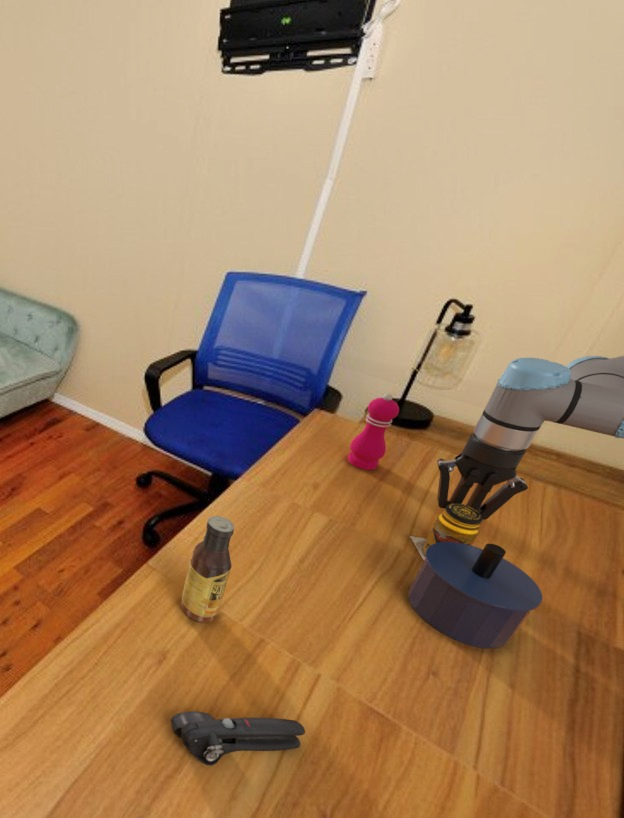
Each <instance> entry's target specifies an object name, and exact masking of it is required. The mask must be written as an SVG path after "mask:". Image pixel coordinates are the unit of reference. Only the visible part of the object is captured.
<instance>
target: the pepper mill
mask: <svg viewBox="0 0 624 818" xmlns="http://www.w3.org/2000/svg"><path fill="white" fill-rule="evenodd" d="M367 411H368V413H367V414H366V418H365V421H366V425H365V426H364V428H363V430H362V431H361V432H360V433H359V434H357V435H356V436H355V437H354V438H353V439H352V441H351V442H350V444H349V449H350V452H349V453H348V456H347V461H348V462H349V464H351V465H352V466H354V467H356V468H357V469H361V470H367V471H373V470H375V469H377V467H378V465H379V463H380V459H383V458H384V456H385V455H386V451H387V445H386V440H385V433H386V430H387V428H389V427H391V426H392V423H393V419H395V418H396V417H398V415H399V413H400V407H399V405H398V403H397V402H396V401H395V400H393V395H392V394H391V393H385V394H384V395H383V397H376V398H374V399H372V400H371V401H370V402H369V403H368V405H367Z"/></svg>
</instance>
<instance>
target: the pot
mask: <svg viewBox="0 0 624 818" xmlns="http://www.w3.org/2000/svg"><path fill="white" fill-rule="evenodd" d="M407 594H408V601H409V603H410V605H411V607H412V609H413V610H414V612H415V613H416V614H417V615H418V616H419V617H420V618H421V619H422V620H423V621H424V622H426V623H427V624H428V625H429V626H431V627H432V628H433V629H435V630H436V631H438V632H439V633H441V634H443V635H444V636H446V637H448V638H450V639H451V640H455V641H457V642H459V643H462V644H464V645H468V646H470V647H475V648H478V649H479V648H480V649H499V648H502V647H504V646H506V645H507V643H508V642H510V640H511V639H513V636H514V635H515V633H516V632H517V631H518V630H519V628H520V627H521V625H522V624H523V622H524V621H525V619H526V618H527V616H528V615H529V614H530V613H531V611H532V610H530V611H522V612H518V611H508V610H503V609H498V608H495V607H491V606H488V605H486V604H483V603H480V602H478V601H475V600H473V599H471V598H469V597H467V596H465V595H463V594H461V593H459V592H458V591H456V590H455V589H453V588H451V587H450V586H449V585H447V584H446V583H444V582H443V581H442V580H441V579H440V578H439V577H437V576H436V575H435V574H434V572H433V571H432V570H431V569H430V567H429V566H428V564H427V562H426V559H425V560H423V562H422V563H421V566H420V567H419V569H418V571H417V573H416V575H415V577H414V579H413V581H412V583H411V584H410V587H409V590H408V593H407Z"/></svg>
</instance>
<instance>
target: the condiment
mask: <svg viewBox="0 0 624 818" xmlns="http://www.w3.org/2000/svg"><path fill="white" fill-rule="evenodd" d="M483 521H484V520H483V518H482V515H481V513H480V512H479V511H477V510H476V509H474V508H472V507H469V506H467V505H466V504H464V503H462V504H459V503H451V504H448V505H447V506H446V509H444V510H443V511H442V512H441V513H440V514H439V515H437V518H436V520H435V522H434V524H433V526H432V527H431V528H430V532H428V536H427V538H424V537H416V536H412V535H409V538H410V539H411V541H412V543H413V544H414V546H415V548H416V549H417V552H418V553H419V555H420V556H421V559H422V560H423V561H424V560H425V552H426V550H427V548H428V547H429V546H430V545H432V544H435V543H439V542H456V543H462V544H467V545H471V546H473V544H474V542H475V540H476V539H477V537H478V534H479V533H480V528H479V527H480V526H481V524H482V523H483Z"/></svg>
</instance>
